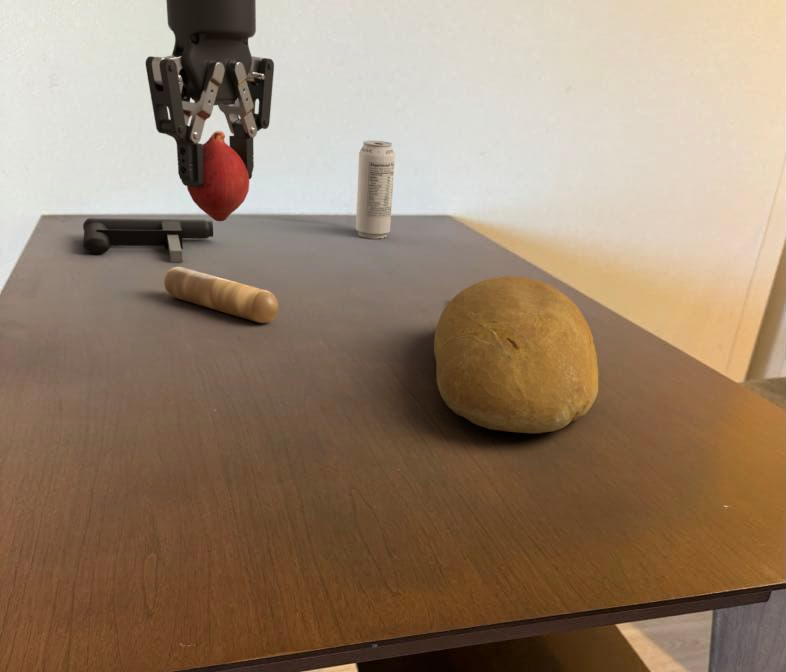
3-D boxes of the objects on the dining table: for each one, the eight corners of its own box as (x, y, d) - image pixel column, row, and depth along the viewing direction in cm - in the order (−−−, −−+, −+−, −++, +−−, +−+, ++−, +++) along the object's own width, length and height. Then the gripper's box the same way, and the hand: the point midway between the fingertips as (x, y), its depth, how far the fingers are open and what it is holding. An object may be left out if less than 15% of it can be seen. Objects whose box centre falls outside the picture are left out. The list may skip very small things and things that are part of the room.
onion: (212, 231, 79) (208, 137, 75) (176, 218, 82) (170, 127, 78) (261, 224, 83) (260, 134, 79) (225, 212, 86) (222, 125, 82)
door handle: (221, 245, 127) (210, 214, 139) (80, 245, 122) (82, 213, 134) (222, 267, 129) (211, 235, 141) (83, 268, 124) (84, 234, 136)
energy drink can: (381, 230, 154) (386, 140, 146) (394, 239, 149) (401, 145, 141) (350, 231, 151) (354, 139, 143) (363, 240, 147) (367, 145, 139)
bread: (432, 443, 80) (443, 341, 75) (431, 325, 110) (438, 246, 105) (625, 458, 81) (649, 357, 75) (571, 336, 110) (586, 258, 105)
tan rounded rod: (158, 297, 112) (156, 267, 110) (180, 291, 115) (178, 261, 113) (264, 329, 104) (264, 297, 102) (285, 322, 107) (285, 290, 105)
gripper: (235, -27, 79) (239, 169, 87) (112, -40, 68) (131, 184, 77) (298, -22, 75) (296, 181, 84) (179, -35, 65) (191, 198, 74)
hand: (217, 181), depth 81 cm, fingers closed on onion, 6 cm apart
